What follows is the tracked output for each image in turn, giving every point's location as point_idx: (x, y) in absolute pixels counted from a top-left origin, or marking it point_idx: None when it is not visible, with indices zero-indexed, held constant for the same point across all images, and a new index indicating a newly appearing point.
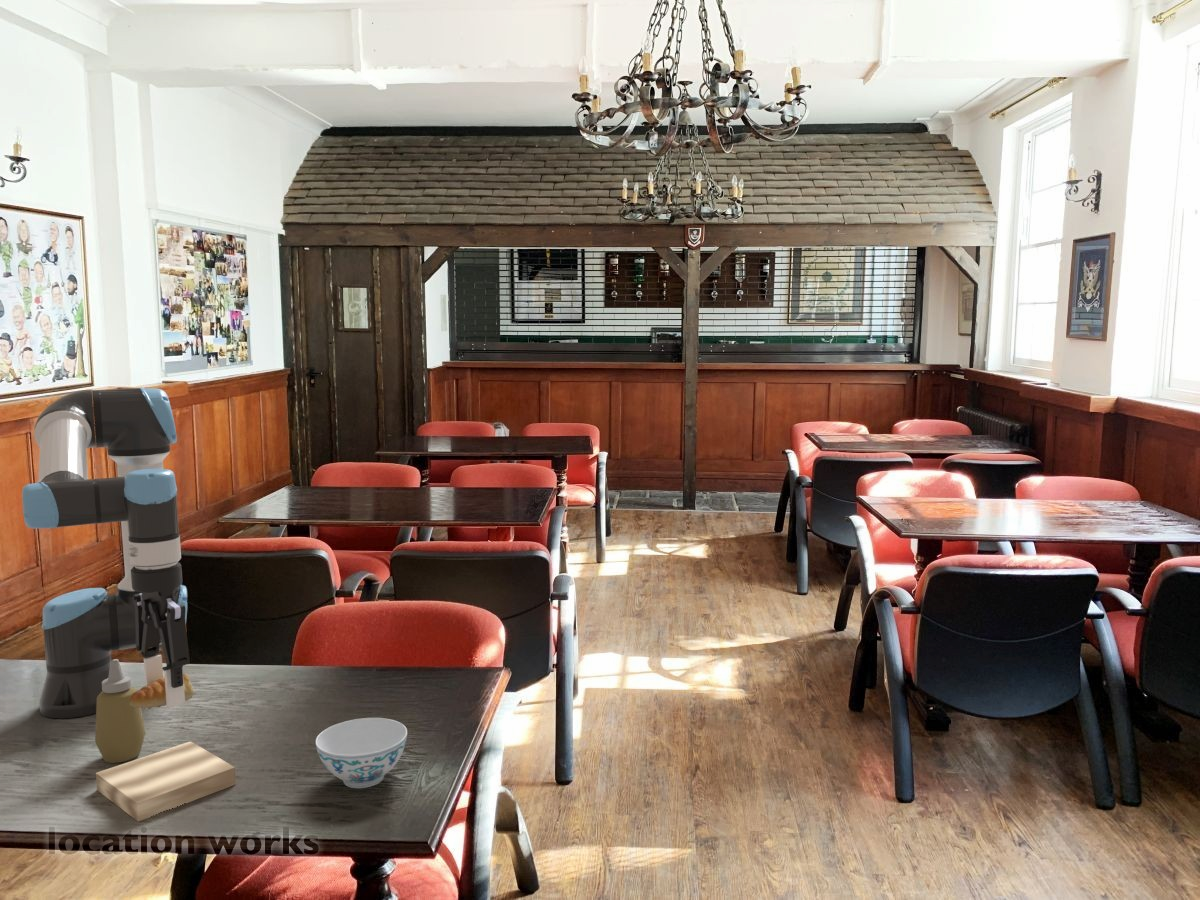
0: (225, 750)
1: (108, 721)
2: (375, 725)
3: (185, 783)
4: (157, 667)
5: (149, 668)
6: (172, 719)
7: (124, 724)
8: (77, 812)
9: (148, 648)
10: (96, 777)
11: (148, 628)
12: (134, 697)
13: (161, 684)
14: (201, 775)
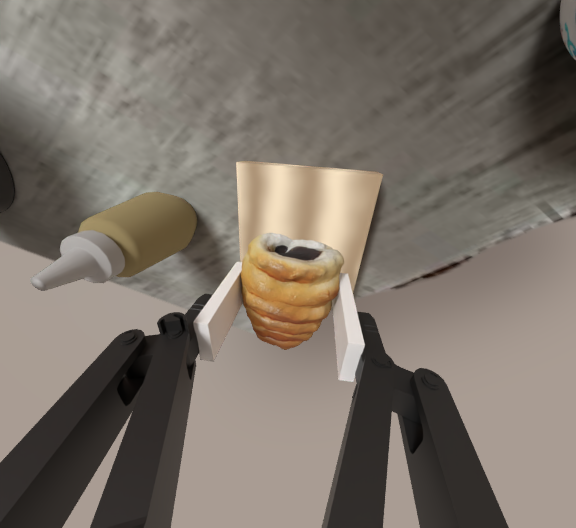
0: (260, 109)
1: (162, 259)
2: None
3: (359, 243)
4: (223, 311)
5: (224, 331)
6: (80, 96)
7: (173, 240)
8: None
9: (191, 380)
10: None
11: (172, 507)
12: (285, 348)
13: (300, 322)
14: (359, 219)
